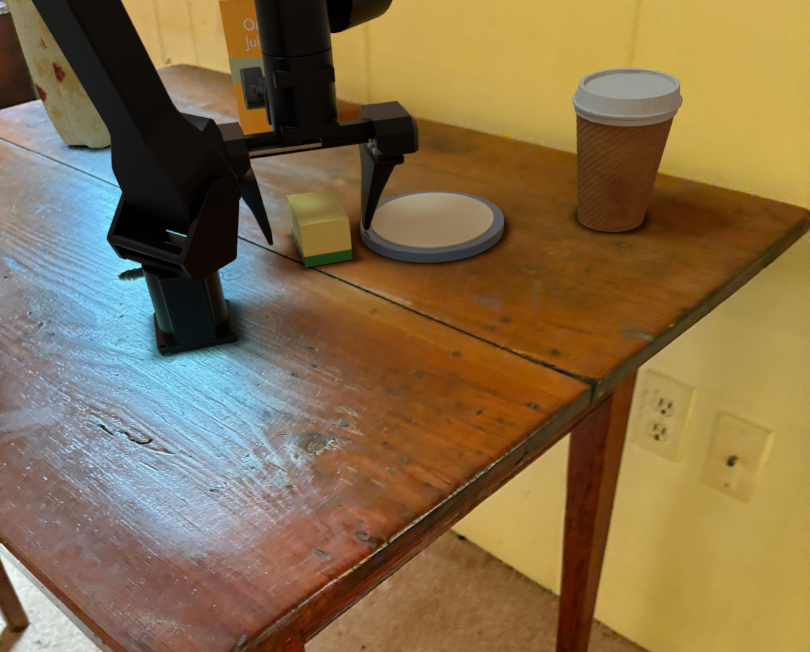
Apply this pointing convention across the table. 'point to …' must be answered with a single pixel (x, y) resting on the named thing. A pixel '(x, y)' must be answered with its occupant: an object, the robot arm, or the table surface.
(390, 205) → the plate
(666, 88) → the disposable coffee cup
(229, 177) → the robot arm
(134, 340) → the table surface
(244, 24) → the orange juice
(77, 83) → the food model
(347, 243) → the sponge
